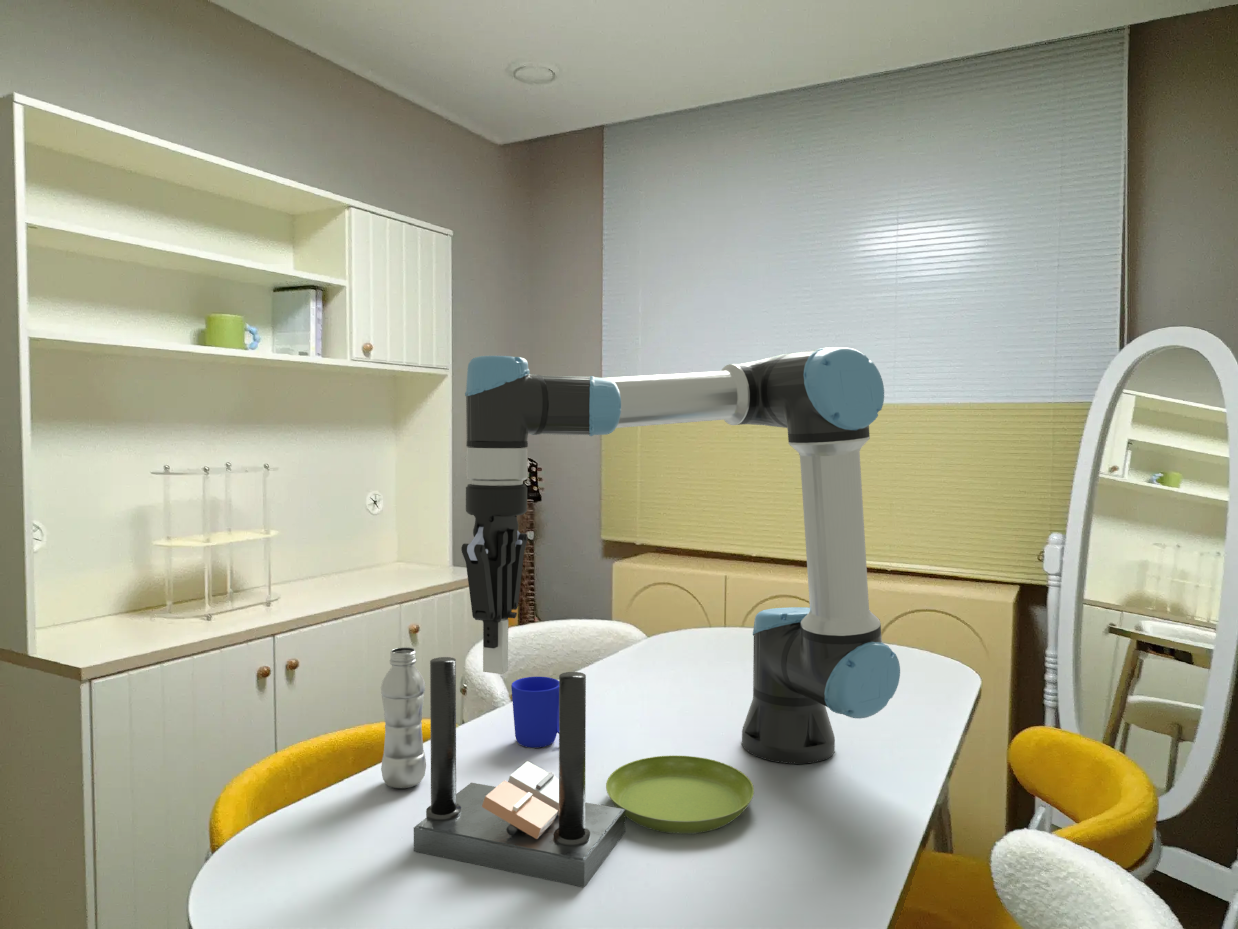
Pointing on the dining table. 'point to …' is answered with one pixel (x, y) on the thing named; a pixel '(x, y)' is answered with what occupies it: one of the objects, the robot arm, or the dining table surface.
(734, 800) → the saucer
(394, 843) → the dining table surface
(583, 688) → the twin post stand
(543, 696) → the mug
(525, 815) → the paddle
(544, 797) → the paddle
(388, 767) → the plastic bottle
